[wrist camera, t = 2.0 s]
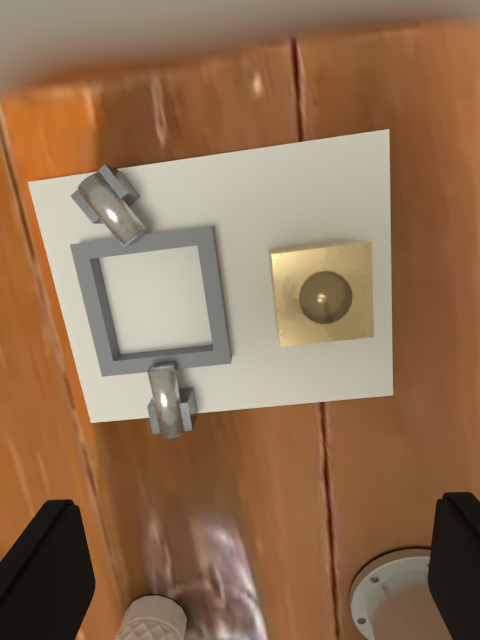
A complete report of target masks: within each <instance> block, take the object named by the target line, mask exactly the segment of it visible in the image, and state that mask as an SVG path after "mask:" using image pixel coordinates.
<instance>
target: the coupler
mask: <svg viewBox="0 0 480 640" xmlns="http://www.w3.org/2000/svg"><path fill="white" fill-rule="evenodd" d="M268 254H269V263H270V273H271V283H272V292H273V302H274V312H275V322H276V329H277V333H278V338H279V342H280V347H284V346H294V345H304V344H313V343H323V342H332V341H342V340H352V339H361V338H371V337H374V315H373V279H372V243H371V242H368V241H359V240H341V241H333V242H325V243H317V244H309V245H301V246H293V247H285V248H277V249H269V250H268Z"/></svg>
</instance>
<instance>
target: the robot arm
mask: <svg viewBox="0 0 480 640" xmlns="http://www.w3.org/2000/svg"><path fill="white" fill-rule="evenodd" d="M94 591H95V577H94V572H93V568H92V563H91V558H90V554H89V549H88V545H87V540H86V536H85V531H84V527H83V522H82V518H81V513H80V509H79V507H78V506H77V505H74V503H73V501H72V500H69V499H68V500H48V501H46V502H45V503H44V505H43V506H42V507H41V509H40V510H39V511H38V513H37V514H36V515H35V517H34V518H33V519H32V521H31V522H30V523H29V525H28V526H27V527H26V529H25V530H24V531H23V533H22V534H21V535H20V537H19V538H18V539H17V541H16V542H15V543H14V545H13V546H12V547H11V549H10V550H9V551H8V553H7V554H6V555H5V557H4V558H3V559H2V561H1V562H0V640H75V637H76V635H77V633H78V630H79V628H80V626H81V623H82V621H83V619H84V616H85V614H86V612H87V609H88V607H89V605H90V602H91V600H92V598H93V595H94ZM349 605H350V610H351V614H352V618H353V621H354V623H355V625H356V627H357V628H358V630H359V631H360V632H361V633H362V634H363V635H364V636H365V637H366V638H367V639H368V640H480V502H479V501H478V499H477V498H476V497H475V496H474V495H473V494H472V493H470V492H449V493H444V495H443V498H442V499H438V500H437V503H436V512H435V520H434V528H433V537H432V545H431V550H427V549H406V550H400V551H395V552H392V553H389V554H386V555H383V556H381V557H380V558H378V559H376V560H374V561H372V562H371V563H370V564H369V565H367V566H366V567H365V568H364V569H363V570H362V571H361V572H360V573H359V574H358V575H357V577H356V578H355V580H354V582H353V584H352V586H351V589H350V593H349Z"/></svg>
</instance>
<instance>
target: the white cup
mask: <svg viewBox="0 0 480 640" xmlns="http://www.w3.org/2000/svg"><path fill="white" fill-rule="evenodd" d="M186 624H187V617H186V615H185V613H184V611H183V609H182V607H180V606H179V605H178V604H177V603H175V602H174V601H173V600H171V599H168V598H165V597H162V596H159V595H153V596H143V597H141V598H139V599H137V600H134V601H133V602H132V603H131V605H130V606H129V607H128V609H127V610H126V612H125V615H124V617H123V620H122V623H121V626H120V628H119V631H118V633H117V635H116V637H115V639H114V640H184V639H185V632H186Z"/></svg>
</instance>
